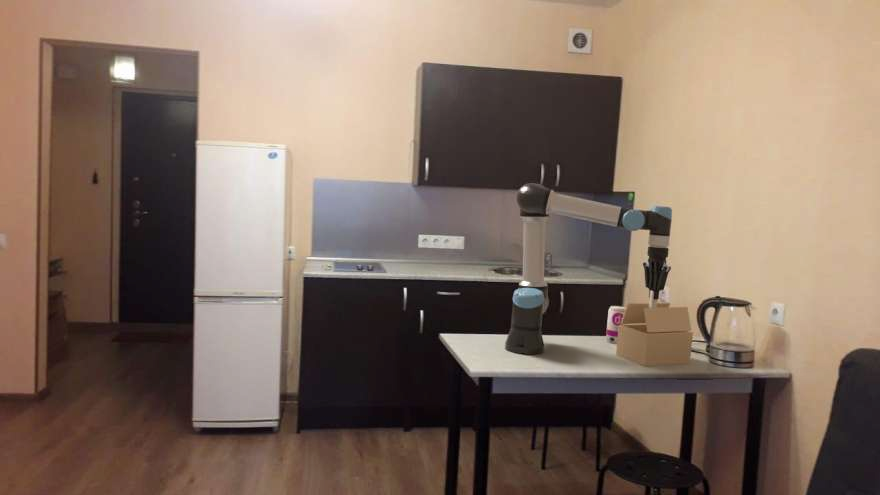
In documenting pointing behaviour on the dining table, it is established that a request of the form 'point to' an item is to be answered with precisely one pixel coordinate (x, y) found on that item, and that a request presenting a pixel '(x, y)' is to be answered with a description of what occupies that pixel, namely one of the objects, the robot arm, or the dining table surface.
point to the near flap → (667, 319)
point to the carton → (653, 346)
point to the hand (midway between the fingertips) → (652, 307)
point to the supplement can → (614, 323)
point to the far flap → (638, 312)
